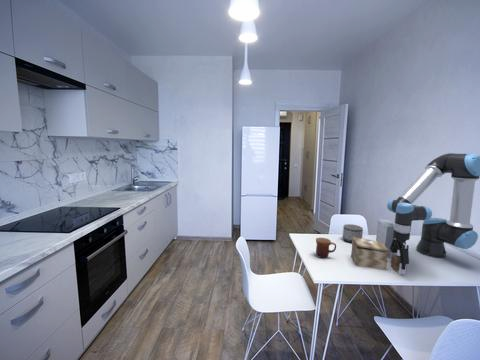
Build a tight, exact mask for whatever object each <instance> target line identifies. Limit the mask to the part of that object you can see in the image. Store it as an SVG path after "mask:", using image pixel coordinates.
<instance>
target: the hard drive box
mask: <svg viewBox="0 0 480 360" xmlns="http://www.w3.org/2000/svg"><path fill="white" fill-rule="evenodd" d="M394 224H395V222H393V221H392V220H390V219H381V218H380V219H377V226H376V227H377V229H376V236H375V241H379V242H382V243H383V244H384V246H385V247H386V248H387V249H388V250H389V251H388V252H389V254H388V258H391V253H392V252H391V250H390V247H391V244H392V241H393V231H394V226H393V225H394ZM392 248H393V247H392Z"/></svg>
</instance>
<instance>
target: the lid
mask: <svg viewBox="0 0 480 360" xmlns="http://www.w3.org/2000/svg"><path fill="white" fill-rule="evenodd" d="M352 239H353V240H354V242H355V244H356V245H357V246H358V247H363V248H369V249H374V250H380V251H385V252H388V251H389V250H388V249H387V248H386V247H385V246H384V244H383V243H382V242H379V241H376V240H372V239H365V238H362V239H361V238H356V237H353V238H352Z"/></svg>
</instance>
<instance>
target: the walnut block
mask: <svg viewBox="0 0 480 360" xmlns="http://www.w3.org/2000/svg"><path fill="white" fill-rule="evenodd" d="M390 260H391V263H390V267H391V269H392V270H393V271H395V272H399V266H400V263H399V262H401V258H400V255H398V254H397V255H392V259H391V258H390Z"/></svg>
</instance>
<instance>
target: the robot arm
mask: <svg viewBox="0 0 480 360" xmlns="http://www.w3.org/2000/svg"><path fill="white" fill-rule="evenodd" d="M445 174H450V178H451V179H453V188H452V197H451V204H450V205H451V206H450V207H451V208H450V215H449V220H447V219H446V218H445V219H444V218H441V217H440V218H439V217H432V216H433V211H432V210H431V208H430V207H429V206H426V205H425V206H424V205H421V206H419V205H416V204H413V203H415V202H416V200H418V198H419V197H420V196H421V195H422V194H423V193H424V192H426V190H427V189H428V188H429V187H430V186H431V185H433V183H434V182H435V181H436V179H438V178H441V177H443V175H445ZM478 180H480V154H476V153H453V152H451V153H450V152H449V153H445V154H442V155H439V156H438V157H436V158H433V160H431V161H430V162H429V163H428V164H427V165H426V166H425V167H424V171H423V172H421V173H420V175H419V176H418V177H417V178H416V179H415V180H414V181H412V183H411V184H410V185H409V186H408V187H406V189H405V190H404V191H403V192H402V194H400V195H399V196H398V198H396V199H391V200H388V202H387V204H386V207H387V210H388V211H389V212H391V213H393V214H394V217H395V218H394V223H395V224H394V225H393V226H394V231H393V241H392V244H391V247H390V250H391V252H392V253H391V257H390V261H389V262H390V263H389V264H391V259H392V255H397V256H398V252H399V256H400V258H401V262H399V263H400V266H399V271H398V275H403V276H405V275H406V269H407V265H409V264H410V260H409V255H410V254H409V247H410V246H409V244H407V241H409V240H410V238H411V237H410V236H411V231H412V222H413V221H422V229H421V236H420V240H418V243H417V244H416V247H415V250H416V251H417V253H419V254H422V255H425V256H427V257H431V258H438V259H441V258H443V259H444V258H446V256H447V251H446V248H445V247H446V246H445V244H448V245H451V246H453V247H456V248H460V249H463V250H467V249H470V248H472V247H474V245H476V243H477V241H478V239H479V238H478V237H479V234H478V233H477V232H476V231H475V230H474V225H473V224H472V223H471V217H472V209H473V199H474V195H475V194H474V192H475V184H476V181H478ZM392 247H393V248H392Z"/></svg>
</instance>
